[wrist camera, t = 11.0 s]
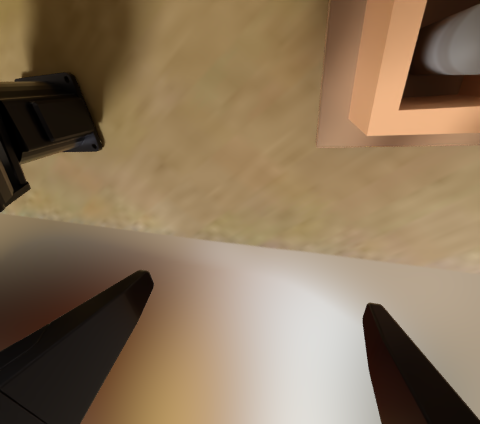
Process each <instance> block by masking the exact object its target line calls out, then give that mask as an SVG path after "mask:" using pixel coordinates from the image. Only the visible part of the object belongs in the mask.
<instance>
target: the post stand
mask: <svg viewBox="0 0 480 424" xmlns="http://www.w3.org/2000/svg"><path fill="white" fill-rule="evenodd" d="M366 3H367V0H329V7H328V17H327V28H326V39H325V50H324V61H323V72H322V82H321V93H320V104H319V115H318V126H317V136H316V146H317V148H332V147H393V146H454V145H480V133H459V134H423V135H387V136H366V135H365V134H364V133H363V132H362V131H361V130H360V129H359V128H358V127H357V126H356V125H355V124H354V123H352V122H351V121H350V120H349V119H348V118H349V112H350V105H351V99H352V93H353V86H354V80H355V73H356V67H357V61H358V54H359V48H360V42H361V35H362V29H363V23H364V16H365V10H366ZM478 74H480V0H427V3H426V6H425V10H424V14H423V18H422V22H421V26H420V30H419V33H418V37H417V41H416V45H415V49H414V53H413V56H412V60H411V64H410V68H409V72H408V76H407V80H406V83H405V87H404V91H403V95H402V98H409V97H425V96H440V95H456V94H458V92H459V89H460V86H461V83H462V81H463V78H464V75H478Z"/></svg>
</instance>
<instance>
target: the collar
mask: <svg viewBox="0 0 480 424" xmlns="http://www.w3.org/2000/svg"><path fill="white" fill-rule="evenodd" d="M426 3H427V0H367V3H366V10H365V16H364V23H363V29H362V35H361V42H360V48H359V54H358V61H357V67H356V73H355V80H354V86H353V93H352V99H351V105H350V112H349V118H348V119H349V120H350V121H351V122H352V123H354V124H355V125H356V126H357V127H358V128H359V129H360V130H361V131H362V132H363V133H364V134H365V135H366V136H387V135H423V134H459V133H480V74H478V75H464V78H463V81H462V83H461V86H460V89H459V92H458V94H456V95H440V96H425V97H409V98H402V95H403V91H404V87H405V83H406V80H407V76H408V72H409V68H410V64H411V60H412V56H413V53H414V49H415V45H416V41H417V37H418V33H419V30H420V26H421V22H422V18H423V14H424V10H425V6H426Z"/></svg>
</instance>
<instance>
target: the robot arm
mask: <svg viewBox="0 0 480 424" xmlns="http://www.w3.org/2000/svg"><path fill="white" fill-rule="evenodd" d="M68 78H69V79H68ZM69 80H70V81H69ZM96 146H97V147H96ZM101 149H102V144H101V142H100V139H99V137H98V134H97V132H96V129H95V127H94V124H93V122H92V119H91V116H90V114H89V111H88V109H87V106H86V104H85V101H84V99H83V96H82V94H81V91H80V89H79V86H78V83H77V81H76V79H75V77H74V75H73V74H71V73H57V74H49V75H42V76H34V77H27V78H19V79H15V82H0V212H2V211H3V210H4V209H5V207H7V206H8V205H9V204H11V203H12V202H13V201H15V200H16V199H17V198H19V197H20V196H21V195H23V194H24V193H25V192H27V191H28V190H30V189H31V188H30V185H29V183H28V182H27V181H26V179H25V176H24V173H23V171H22V168H21V166H20V164H24V163H27V162H30V161H33V160H37V159H40V158H43V157H46V156H50V155H53V154H56V153H59V152H94V151H99V150H101ZM153 286H154V283H153V280H152V278H151V275H150V273H149V272H148V271H145V270H139V271H137V272H135V273H133V274H132V275H130V276H128V277H126V278H125V279H123V280H121V281H120V282H118V283H116V284H115V285H113V286H111V287H110V288H108V289H106V290H105V291H103V292H101V293H100V294H98V295H96V296H95V297H93V298H91V299H89V300H88V301H86V302H84V303H83V304H81V305H79V306H78V307H76V308H74V309H73V310H71V311H69V312H68V313H66V314H64V315H63V316H61V317H59V318H58V319H56V320H54V321H52V322H51V323H50V324H47V325H46V326H44V327H42V328H41V329H39V330H37V331H36V332H34V333H32V334H31V335H29V336H27V337H26V338H24V339H22V340H20V341H18V342H16V343H14V344H13V345H11V346H9V347H7V348H6V349H4V350H2V351H0V424H80V423H81V421H82V420H83V418H84V416H85V414H86V412H87V411H88V409H89V407H90V406H91V404H92V402H93V400H94V398H95V397H96V395H97V393H98V391H99V390H100V388H101V386H102V384H103V382H104V380H105V379H106V377H107V375H108V374H109V372H110V370H111V368H112V366H113V365H114V363H115V361H116V359H117V357H118V356H119V354H120V352H121V351H122V349H123V347H124V345H125V344H126V342H127V340H128V338H129V336H130V335H131V333H132V331H133V329H134V328H135V326H136V324H137V322H138V320H139V318H140V316H141V314H142V311H143V309H144V307H145V305H146V303H147V300H148V298H149V296H150V294H151V292H152V289H153ZM363 329H364V337H365V345H366V352H367V359H368V367H369V372H370V377H371V381H372V385H373V389H374V394H375V398H376V402H377V406H378V411H379V415H380V419H381V423H382V424H480V420H479V419H478V417H477V416H476V415H475V414H474V413H473V412H472V410H471V409H470V408H469V407H468V406H467V404H466V403H465V402H464V401H463V400H462V399H461V397H460V396H459V395H458V394H457V393H456V392H455V390H454V389H453V388H452V387H451V386H450V385H449V383H448V382H447V381H446V380H445V379H444V377H443V376H442V375H441V374H440V373H439V372H438V370H436V368H435V367H434V366H433V365H432V364H431V362H430V361H429V360H428V359H427V358H426V356H425V355H424V354H423V353H422V352H421V351H420V349H419V348H418V347H417V346H416V345H415V344H414V342H413V341H412V340H411V339H410V338H409V336H407V334H406V333H405V332H404V331H403V329H402V328H401V327H400V326H399V325H398V323H397V322H396V321H395V320H394V319H393V318H392V317H391V315H390V314H389V313H388V312H387V311H386V310H385V308H384V307H383V306H382V305H380V304H374V303H368V304H367V306H366V309H365V312H364V315H363Z"/></svg>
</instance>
